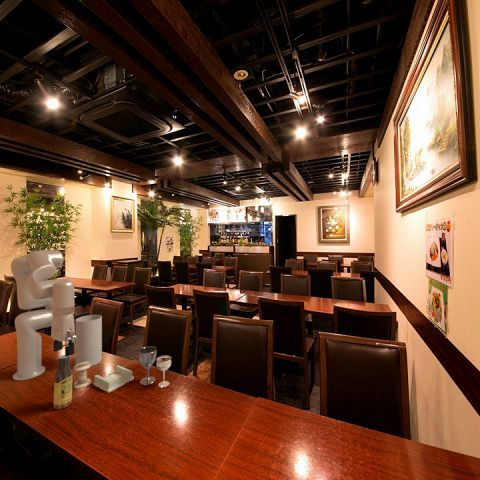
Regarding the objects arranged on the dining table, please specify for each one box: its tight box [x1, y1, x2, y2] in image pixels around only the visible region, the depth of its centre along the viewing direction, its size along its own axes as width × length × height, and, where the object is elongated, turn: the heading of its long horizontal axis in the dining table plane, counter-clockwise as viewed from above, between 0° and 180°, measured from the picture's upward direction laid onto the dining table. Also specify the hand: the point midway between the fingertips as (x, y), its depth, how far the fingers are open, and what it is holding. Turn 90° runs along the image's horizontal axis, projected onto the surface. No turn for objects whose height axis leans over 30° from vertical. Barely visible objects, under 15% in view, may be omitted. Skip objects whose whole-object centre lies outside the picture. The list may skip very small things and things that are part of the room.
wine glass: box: [138, 345, 157, 386], centre depth 122 cm, size 8×8×15 cm
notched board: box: [93, 364, 135, 394], centre depth 121 cm, size 12×13×4 cm
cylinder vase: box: [75, 314, 103, 368], centre depth 140 cm, size 12×12×25 cm
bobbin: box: [72, 362, 92, 389], centre depth 119 cm, size 7×7×9 cm
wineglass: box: [155, 355, 172, 388], centre depth 119 cm, size 7×7×12 cm
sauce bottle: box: [53, 354, 74, 410], centre depth 104 cm, size 7×6×20 cm
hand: (63, 352), depth 103 cm, fingers open, 9 cm apart
